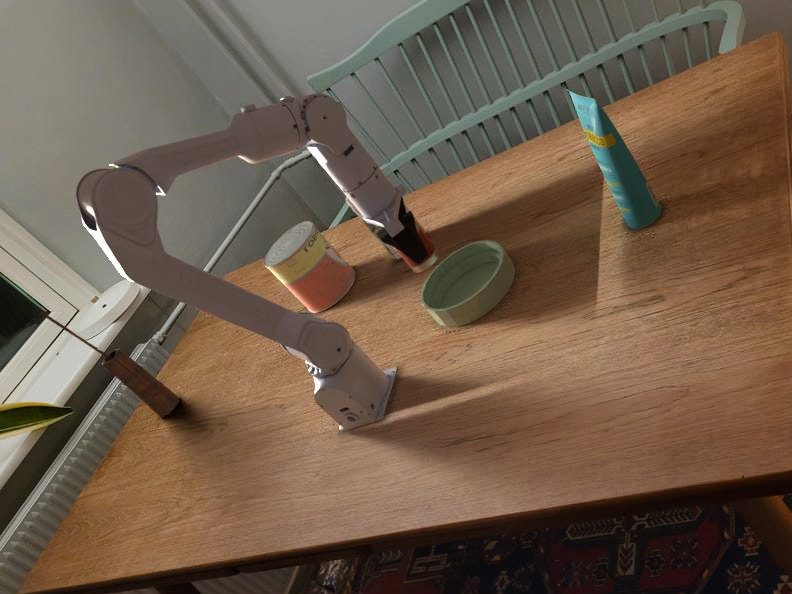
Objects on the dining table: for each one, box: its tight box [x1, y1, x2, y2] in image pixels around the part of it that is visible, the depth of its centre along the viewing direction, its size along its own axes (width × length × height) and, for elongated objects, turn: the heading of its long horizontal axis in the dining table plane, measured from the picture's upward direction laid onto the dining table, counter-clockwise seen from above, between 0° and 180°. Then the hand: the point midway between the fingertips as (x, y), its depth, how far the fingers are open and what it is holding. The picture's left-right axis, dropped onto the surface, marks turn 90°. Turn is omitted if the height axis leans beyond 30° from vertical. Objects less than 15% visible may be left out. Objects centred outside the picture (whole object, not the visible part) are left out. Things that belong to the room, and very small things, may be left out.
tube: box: [566, 88, 662, 230], centre depth 87 cm, size 7×5×19 cm, turn 28°
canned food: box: [262, 220, 357, 314], centre depth 127 cm, size 11×11×12 cm
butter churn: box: [38, 310, 180, 418], centre depth 128 cm, size 9×10×28 cm
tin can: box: [395, 221, 440, 273], centre depth 100 cm, size 5×5×6 cm
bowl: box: [420, 239, 516, 328], centre depth 102 cm, size 14×14×4 cm
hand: (418, 252), depth 100 cm, fingers closed on tin can, 4 cm apart
